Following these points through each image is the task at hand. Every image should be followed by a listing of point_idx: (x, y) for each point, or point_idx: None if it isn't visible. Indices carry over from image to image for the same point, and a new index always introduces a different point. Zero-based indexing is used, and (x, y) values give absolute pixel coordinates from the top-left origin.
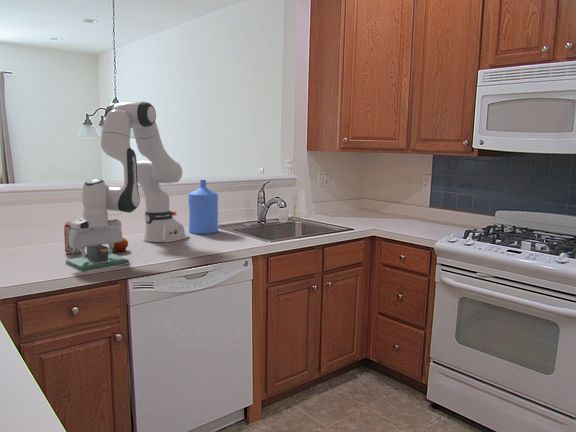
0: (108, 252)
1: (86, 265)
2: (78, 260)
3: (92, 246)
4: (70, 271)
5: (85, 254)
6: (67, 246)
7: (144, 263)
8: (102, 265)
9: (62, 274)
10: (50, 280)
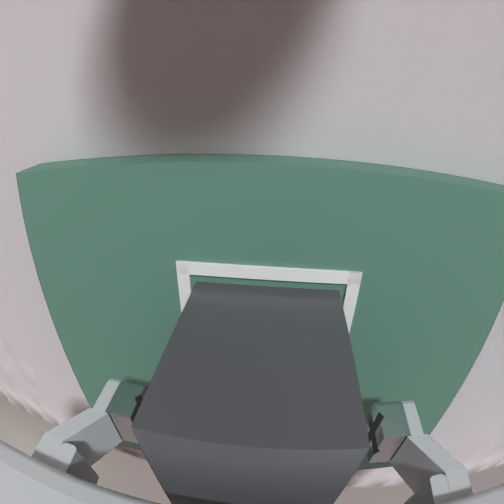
0: (369, 445)
1: None
2: (99, 286)
3: (190, 500)
4: (57, 374)
5: (117, 437)
6: None
7: None
8: None
9: (29, 381)
10: (6, 399)
